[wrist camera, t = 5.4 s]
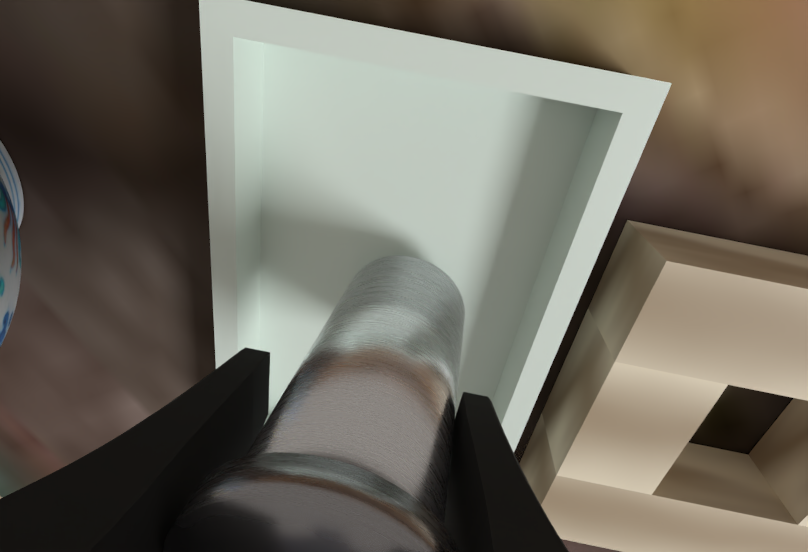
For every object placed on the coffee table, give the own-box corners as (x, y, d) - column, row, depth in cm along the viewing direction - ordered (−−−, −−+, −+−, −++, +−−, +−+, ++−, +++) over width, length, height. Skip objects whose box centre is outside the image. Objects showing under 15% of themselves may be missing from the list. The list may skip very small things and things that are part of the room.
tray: (485, 460, 20) (488, 512, 18) (246, 410, 20) (220, 456, 18) (633, 75, 12) (671, 83, 10) (244, 0, 12) (198, -9, 10)
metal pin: (459, 382, 16) (428, 709, 8) (329, 350, 16) (177, 633, 8) (494, 262, 13) (497, 559, 6) (340, 228, 14) (144, 463, 6)
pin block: (782, 521, 20) (832, 595, 17) (517, 466, 20) (527, 531, 17) (1000, 294, 14) (1127, 352, 11) (627, 219, 14) (666, 260, 11)
